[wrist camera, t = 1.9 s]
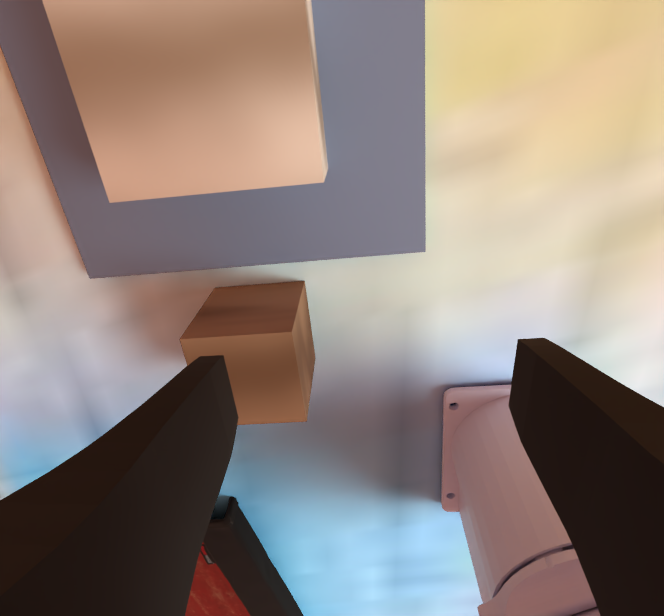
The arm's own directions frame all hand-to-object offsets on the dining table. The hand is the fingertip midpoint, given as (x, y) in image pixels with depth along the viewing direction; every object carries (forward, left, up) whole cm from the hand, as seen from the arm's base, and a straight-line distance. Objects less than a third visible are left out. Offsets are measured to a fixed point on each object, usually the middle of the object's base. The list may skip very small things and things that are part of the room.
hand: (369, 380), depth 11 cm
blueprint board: (+6, +5, -10) cm, 13 cm away
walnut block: (-4, +5, -11) cm, 12 cm away
